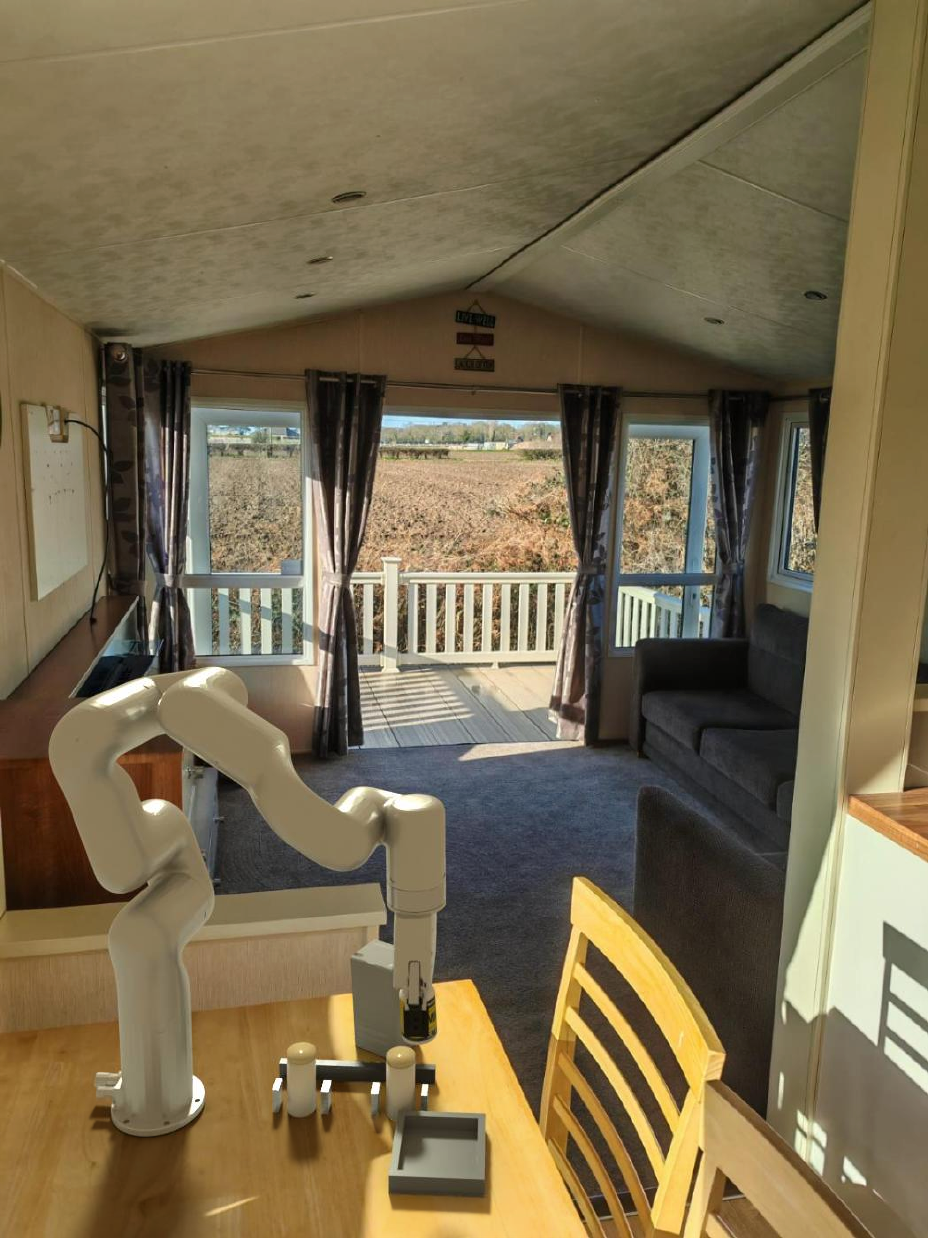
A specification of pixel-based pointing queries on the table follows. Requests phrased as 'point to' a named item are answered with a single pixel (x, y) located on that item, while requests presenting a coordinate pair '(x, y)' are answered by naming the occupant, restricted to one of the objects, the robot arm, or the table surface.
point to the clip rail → (355, 1080)
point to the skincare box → (376, 999)
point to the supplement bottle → (432, 1016)
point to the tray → (438, 1154)
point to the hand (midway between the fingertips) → (417, 1021)
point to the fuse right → (400, 1081)
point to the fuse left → (301, 1079)
